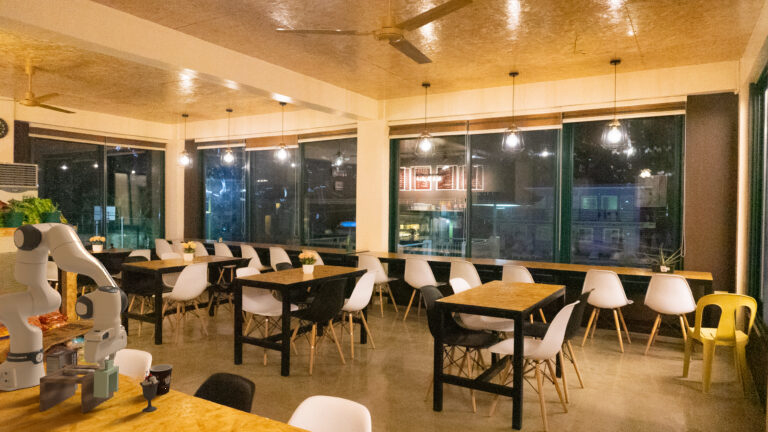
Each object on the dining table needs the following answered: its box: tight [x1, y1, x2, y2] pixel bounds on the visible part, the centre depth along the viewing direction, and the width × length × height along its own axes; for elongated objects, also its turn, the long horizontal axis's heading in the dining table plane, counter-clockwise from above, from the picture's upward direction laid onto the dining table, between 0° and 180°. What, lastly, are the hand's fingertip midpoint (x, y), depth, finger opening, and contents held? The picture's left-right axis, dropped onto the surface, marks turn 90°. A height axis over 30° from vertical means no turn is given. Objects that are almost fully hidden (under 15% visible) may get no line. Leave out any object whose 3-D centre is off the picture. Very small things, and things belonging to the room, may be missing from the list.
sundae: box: [139, 370, 159, 413], centre depth 182 cm, size 7×7×15 cm
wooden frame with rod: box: [39, 364, 115, 414], centre depth 187 cm, size 18×16×13 cm
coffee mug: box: [148, 363, 173, 396], centre depth 198 cm, size 12×9×10 cm
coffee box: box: [45, 349, 79, 391], centre depth 198 cm, size 9×6×16 cm
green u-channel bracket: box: [94, 358, 120, 398], centre depth 183 cm, size 5×7×12 cm
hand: (106, 367), depth 183 cm, fingers closed on green u-channel bracket, 3 cm apart
